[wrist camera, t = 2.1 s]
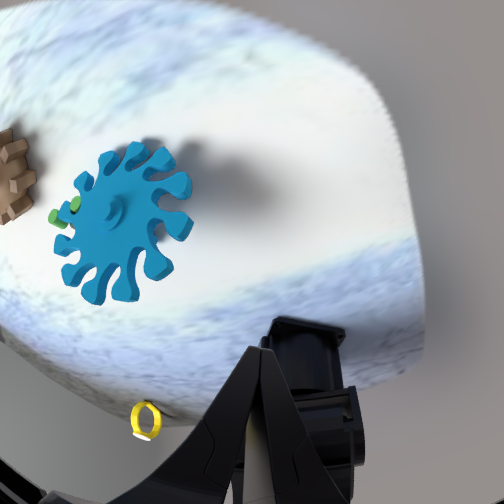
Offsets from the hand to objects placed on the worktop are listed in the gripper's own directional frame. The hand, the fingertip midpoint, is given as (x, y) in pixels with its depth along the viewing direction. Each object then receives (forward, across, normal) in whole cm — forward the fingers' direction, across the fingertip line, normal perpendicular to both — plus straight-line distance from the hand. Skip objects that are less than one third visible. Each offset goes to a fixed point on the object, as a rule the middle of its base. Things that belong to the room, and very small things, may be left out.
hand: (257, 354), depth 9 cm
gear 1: (+10, +25, 0) cm, 27 cm away
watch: (+11, +10, +34) cm, 37 cm away
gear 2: (+10, +10, 0) cm, 14 cm away
